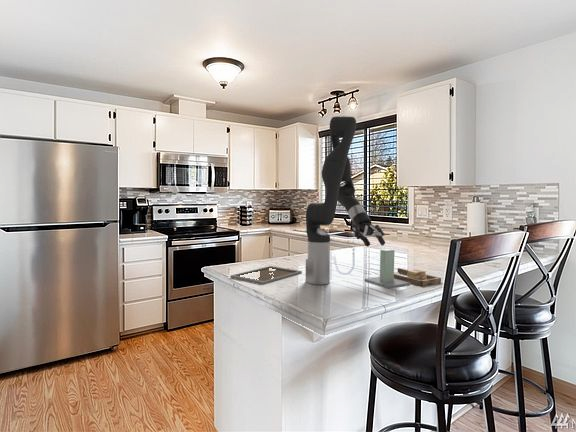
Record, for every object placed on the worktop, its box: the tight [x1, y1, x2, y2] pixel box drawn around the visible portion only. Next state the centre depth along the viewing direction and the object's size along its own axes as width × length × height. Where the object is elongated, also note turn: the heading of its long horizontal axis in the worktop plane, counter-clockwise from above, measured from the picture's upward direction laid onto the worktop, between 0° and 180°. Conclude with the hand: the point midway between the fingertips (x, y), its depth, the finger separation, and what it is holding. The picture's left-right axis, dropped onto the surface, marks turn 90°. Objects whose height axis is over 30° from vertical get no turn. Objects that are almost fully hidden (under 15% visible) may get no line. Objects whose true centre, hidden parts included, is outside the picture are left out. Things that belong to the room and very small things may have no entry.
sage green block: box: [379, 248, 395, 282], centre depth 148 cm, size 5×3×13 cm, turn 120°
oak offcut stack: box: [407, 268, 428, 280], centre depth 152 cm, size 7×5×4 cm
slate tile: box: [364, 276, 411, 289], centre depth 149 cm, size 12×14×1 cm
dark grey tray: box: [229, 265, 303, 286], centre depth 161 cm, size 19×2×30 cm
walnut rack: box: [394, 267, 442, 287], centre depth 156 cm, size 12×23×2 cm, turn 30°
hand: (376, 244), depth 153 cm, fingers open, 8 cm apart
